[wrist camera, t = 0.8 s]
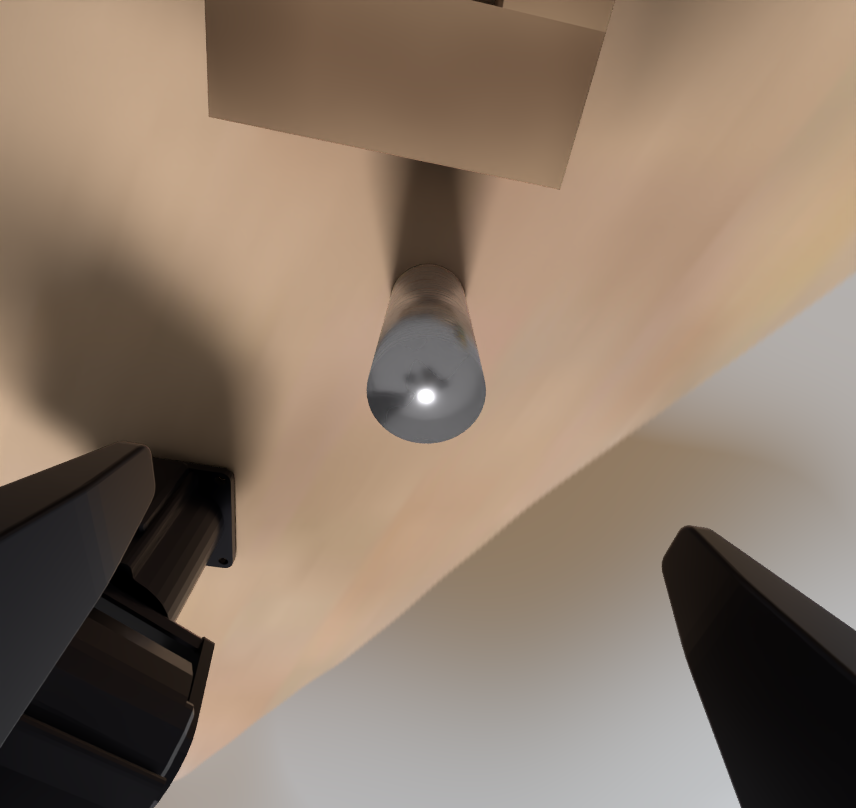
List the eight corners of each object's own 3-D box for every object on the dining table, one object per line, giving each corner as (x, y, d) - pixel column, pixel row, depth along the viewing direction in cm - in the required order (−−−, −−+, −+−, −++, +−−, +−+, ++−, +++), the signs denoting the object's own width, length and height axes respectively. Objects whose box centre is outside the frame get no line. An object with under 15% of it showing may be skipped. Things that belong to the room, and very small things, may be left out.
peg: (456, 342, 20) (470, 451, 13) (385, 330, 19) (360, 433, 12) (472, 271, 18) (498, 349, 11) (396, 257, 18) (375, 327, 11)
